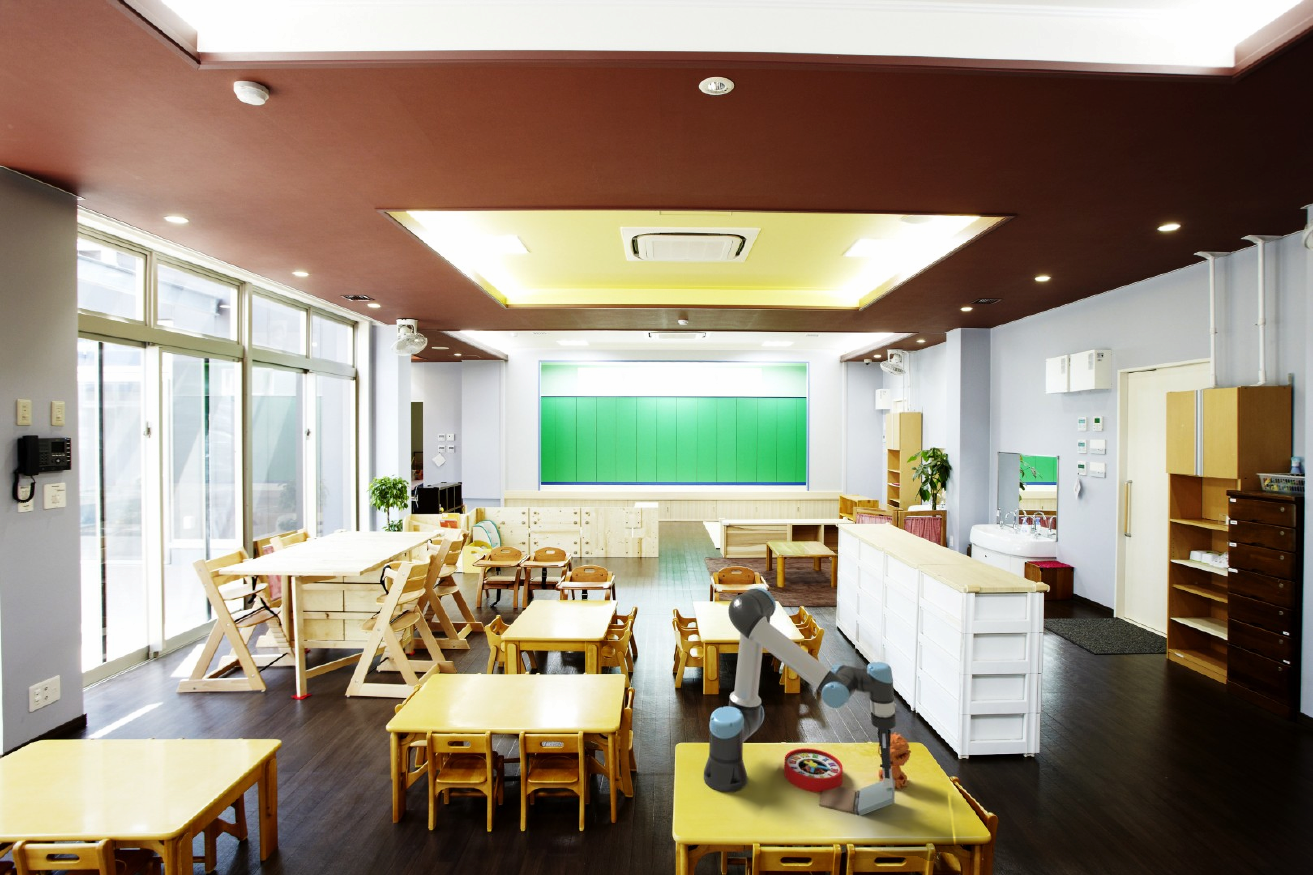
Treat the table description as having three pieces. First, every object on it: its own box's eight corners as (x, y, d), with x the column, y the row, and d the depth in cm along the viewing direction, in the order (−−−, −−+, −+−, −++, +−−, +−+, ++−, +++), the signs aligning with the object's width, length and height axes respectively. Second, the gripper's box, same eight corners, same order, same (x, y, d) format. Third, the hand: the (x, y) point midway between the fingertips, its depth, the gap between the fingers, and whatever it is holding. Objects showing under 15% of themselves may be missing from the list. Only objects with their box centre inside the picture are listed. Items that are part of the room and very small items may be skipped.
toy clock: (788, 743, 233) (844, 754, 226) (788, 759, 233) (843, 770, 227) (780, 771, 214) (841, 784, 208) (780, 788, 214) (840, 801, 208)
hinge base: (819, 808, 203) (819, 803, 203) (823, 786, 215) (823, 782, 215) (858, 817, 199) (858, 812, 199) (860, 795, 211) (860, 790, 211)
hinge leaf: (855, 817, 199) (852, 812, 199) (858, 795, 211) (855, 790, 211) (894, 802, 195) (891, 798, 195) (894, 780, 207) (892, 776, 207)
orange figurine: (913, 795, 211) (915, 743, 211) (879, 791, 213) (881, 739, 213) (907, 777, 222) (908, 727, 222) (874, 773, 224) (876, 724, 224)
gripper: (895, 722, 194) (900, 798, 194) (895, 705, 207) (900, 777, 206) (869, 720, 197) (875, 795, 197) (871, 703, 209) (876, 774, 209)
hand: (888, 785), depth 201 cm, fingers closed
